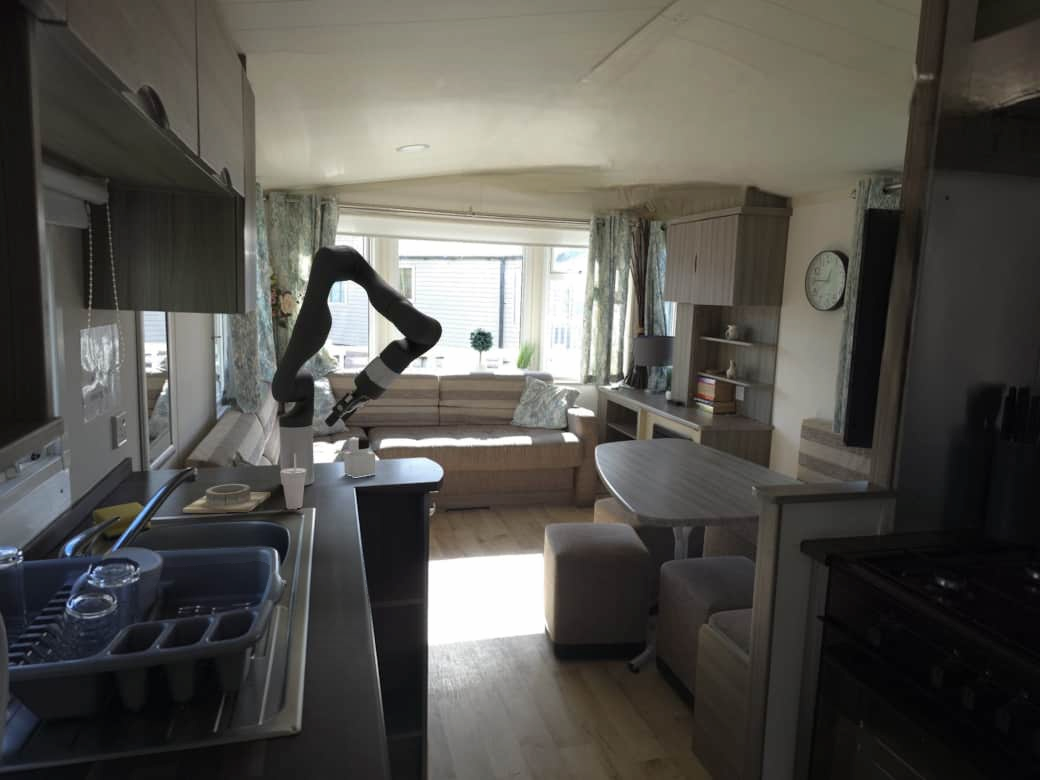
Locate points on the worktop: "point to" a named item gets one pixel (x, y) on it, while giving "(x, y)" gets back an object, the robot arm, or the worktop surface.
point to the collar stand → (227, 500)
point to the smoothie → (293, 485)
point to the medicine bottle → (359, 457)
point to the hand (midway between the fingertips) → (335, 421)
